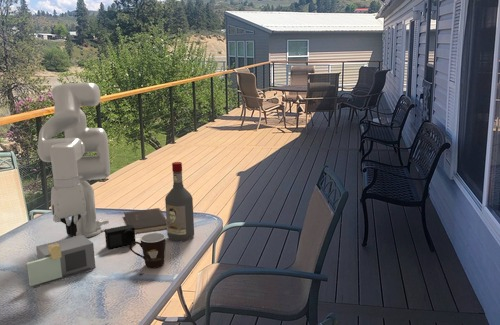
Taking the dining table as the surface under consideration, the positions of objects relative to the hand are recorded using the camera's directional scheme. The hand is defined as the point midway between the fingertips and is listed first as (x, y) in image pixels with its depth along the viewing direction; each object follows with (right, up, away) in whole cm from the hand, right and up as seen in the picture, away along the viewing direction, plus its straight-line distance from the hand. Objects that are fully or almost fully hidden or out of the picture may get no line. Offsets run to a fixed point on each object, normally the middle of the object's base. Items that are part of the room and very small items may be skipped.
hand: (72, 235), depth 174 cm
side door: (-7, -15, -3) cm, 17 cm away
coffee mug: (+24, -12, +11) cm, 29 cm away
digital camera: (+10, -8, +27) cm, 30 cm away
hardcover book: (+14, -2, +53) cm, 55 cm away
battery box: (-6, -13, +6) cm, 16 cm away
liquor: (+31, -6, +35) cm, 47 cm away
